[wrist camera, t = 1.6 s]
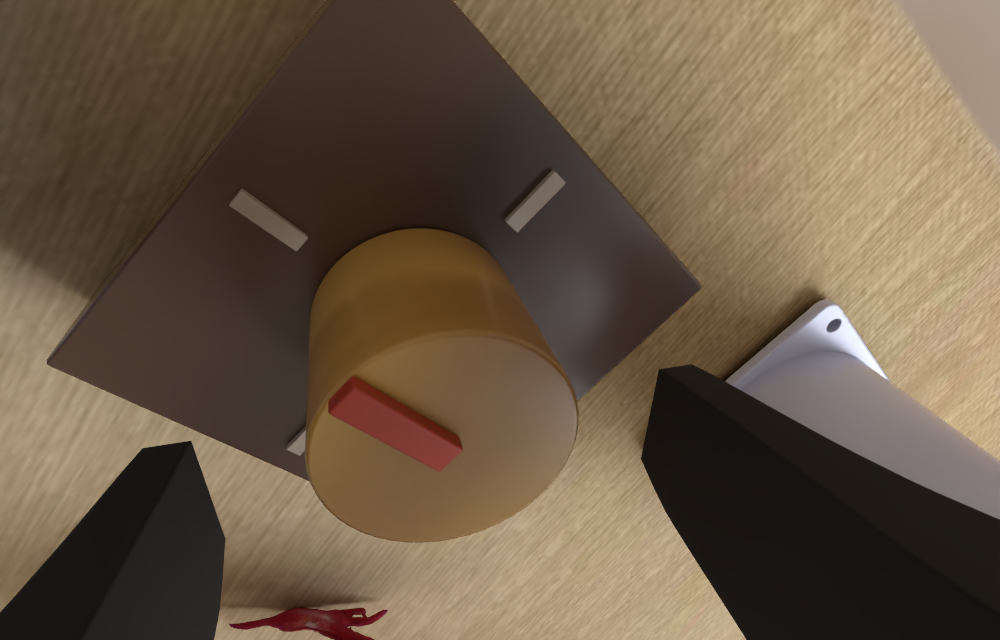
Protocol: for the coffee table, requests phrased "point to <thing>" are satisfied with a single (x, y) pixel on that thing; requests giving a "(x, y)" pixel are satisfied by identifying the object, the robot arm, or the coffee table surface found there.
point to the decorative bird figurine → (318, 622)
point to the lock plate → (364, 225)
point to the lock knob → (430, 391)
